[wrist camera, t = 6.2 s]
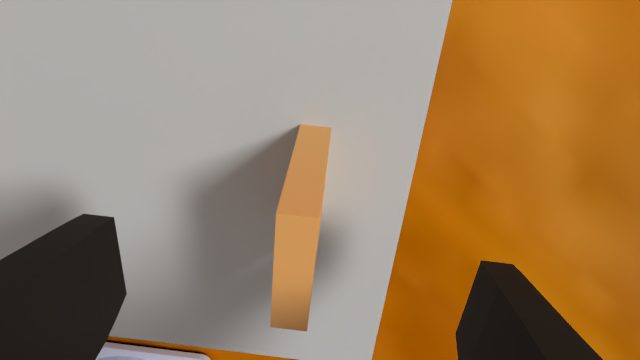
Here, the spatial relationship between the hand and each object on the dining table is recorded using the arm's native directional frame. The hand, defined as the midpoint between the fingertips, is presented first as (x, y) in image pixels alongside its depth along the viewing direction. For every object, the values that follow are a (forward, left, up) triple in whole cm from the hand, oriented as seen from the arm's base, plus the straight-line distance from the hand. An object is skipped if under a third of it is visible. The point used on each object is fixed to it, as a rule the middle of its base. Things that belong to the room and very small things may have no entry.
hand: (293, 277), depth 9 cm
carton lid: (0, +4, -4) cm, 6 cm away
